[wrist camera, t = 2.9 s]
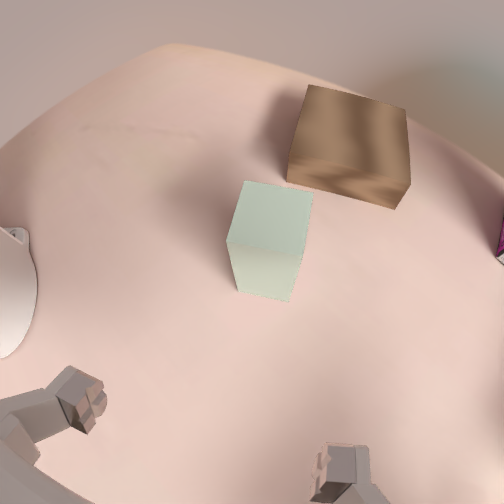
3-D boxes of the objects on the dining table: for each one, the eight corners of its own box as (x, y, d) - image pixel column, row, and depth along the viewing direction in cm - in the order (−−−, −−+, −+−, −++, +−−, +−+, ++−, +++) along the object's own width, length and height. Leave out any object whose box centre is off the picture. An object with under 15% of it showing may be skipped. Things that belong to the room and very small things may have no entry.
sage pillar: (238, 291, 27) (225, 241, 18) (249, 246, 29) (244, 180, 20) (288, 302, 27) (302, 256, 17) (297, 255, 28) (313, 192, 19)
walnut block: (285, 183, 32) (289, 152, 27) (305, 114, 37) (308, 84, 32) (393, 211, 30) (410, 184, 26) (393, 137, 35) (405, 109, 30)
